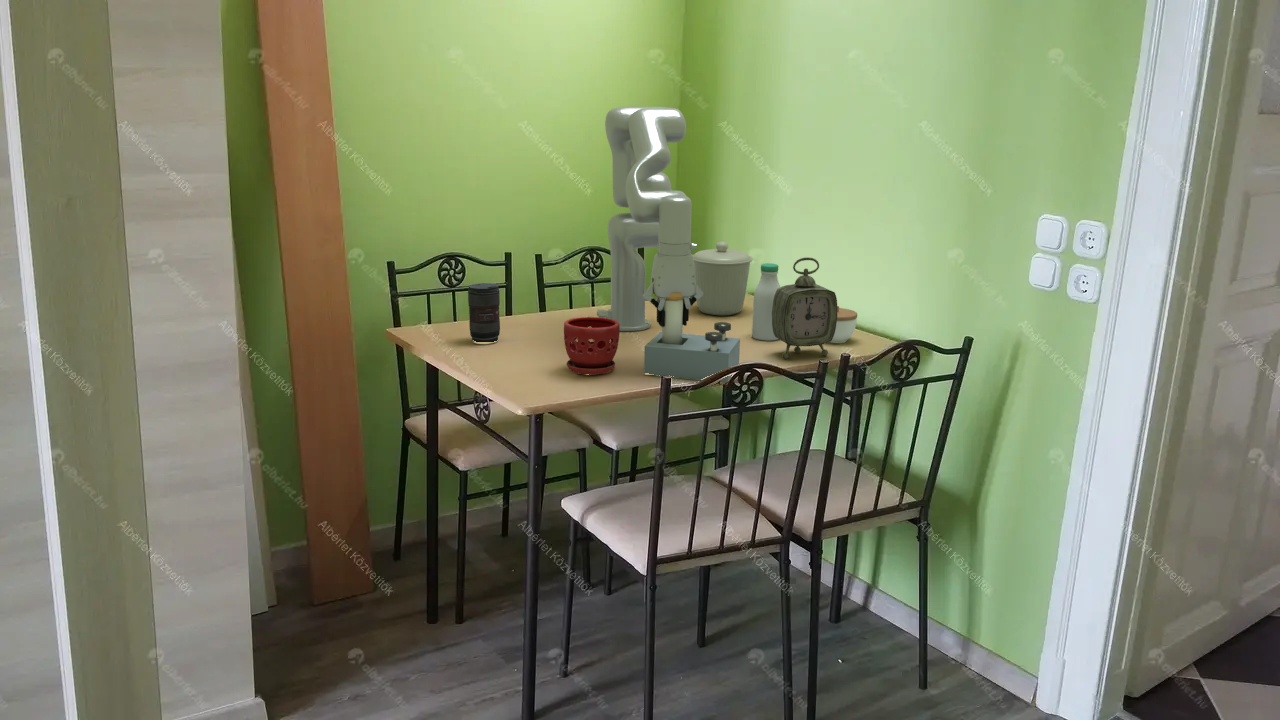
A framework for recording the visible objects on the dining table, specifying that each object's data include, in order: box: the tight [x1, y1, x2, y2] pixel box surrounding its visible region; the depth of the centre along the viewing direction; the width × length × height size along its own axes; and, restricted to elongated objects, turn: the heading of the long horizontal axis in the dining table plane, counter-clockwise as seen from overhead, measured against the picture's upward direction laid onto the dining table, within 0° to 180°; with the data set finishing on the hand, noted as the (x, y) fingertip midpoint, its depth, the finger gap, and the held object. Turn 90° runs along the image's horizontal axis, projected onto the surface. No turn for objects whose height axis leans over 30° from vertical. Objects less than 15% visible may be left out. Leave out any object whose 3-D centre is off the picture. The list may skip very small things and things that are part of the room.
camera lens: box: [467, 282, 501, 342], centre depth 261 cm, size 8×8×15 cm
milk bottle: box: [751, 262, 781, 342], centre depth 267 cm, size 8×8×20 cm
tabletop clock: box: [772, 256, 838, 360], centre depth 250 cm, size 14×9×25 cm, turn 106°
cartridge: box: [661, 293, 684, 345], centre depth 238 cm, size 5×5×14 cm
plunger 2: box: [713, 321, 732, 341], centre depth 240 cm, size 4×4×7 cm
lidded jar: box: [828, 305, 858, 344], centre depth 266 cm, size 11×11×9 cm
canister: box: [692, 241, 754, 317], centre depth 294 cm, size 18×18×21 cm
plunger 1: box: [705, 331, 723, 351], centre depth 231 cm, size 4×4×7 cm
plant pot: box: [563, 316, 620, 376], centre depth 237 cm, size 13×13×12 cm
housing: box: [643, 331, 741, 384], centre depth 238 cm, size 20×14×7 cm
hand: (672, 324), depth 238 cm, fingers closed on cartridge, 4 cm apart
